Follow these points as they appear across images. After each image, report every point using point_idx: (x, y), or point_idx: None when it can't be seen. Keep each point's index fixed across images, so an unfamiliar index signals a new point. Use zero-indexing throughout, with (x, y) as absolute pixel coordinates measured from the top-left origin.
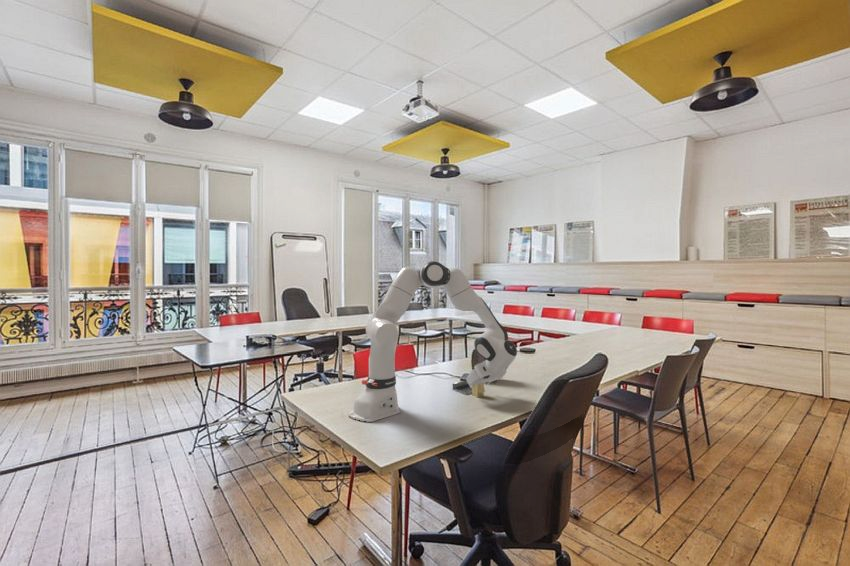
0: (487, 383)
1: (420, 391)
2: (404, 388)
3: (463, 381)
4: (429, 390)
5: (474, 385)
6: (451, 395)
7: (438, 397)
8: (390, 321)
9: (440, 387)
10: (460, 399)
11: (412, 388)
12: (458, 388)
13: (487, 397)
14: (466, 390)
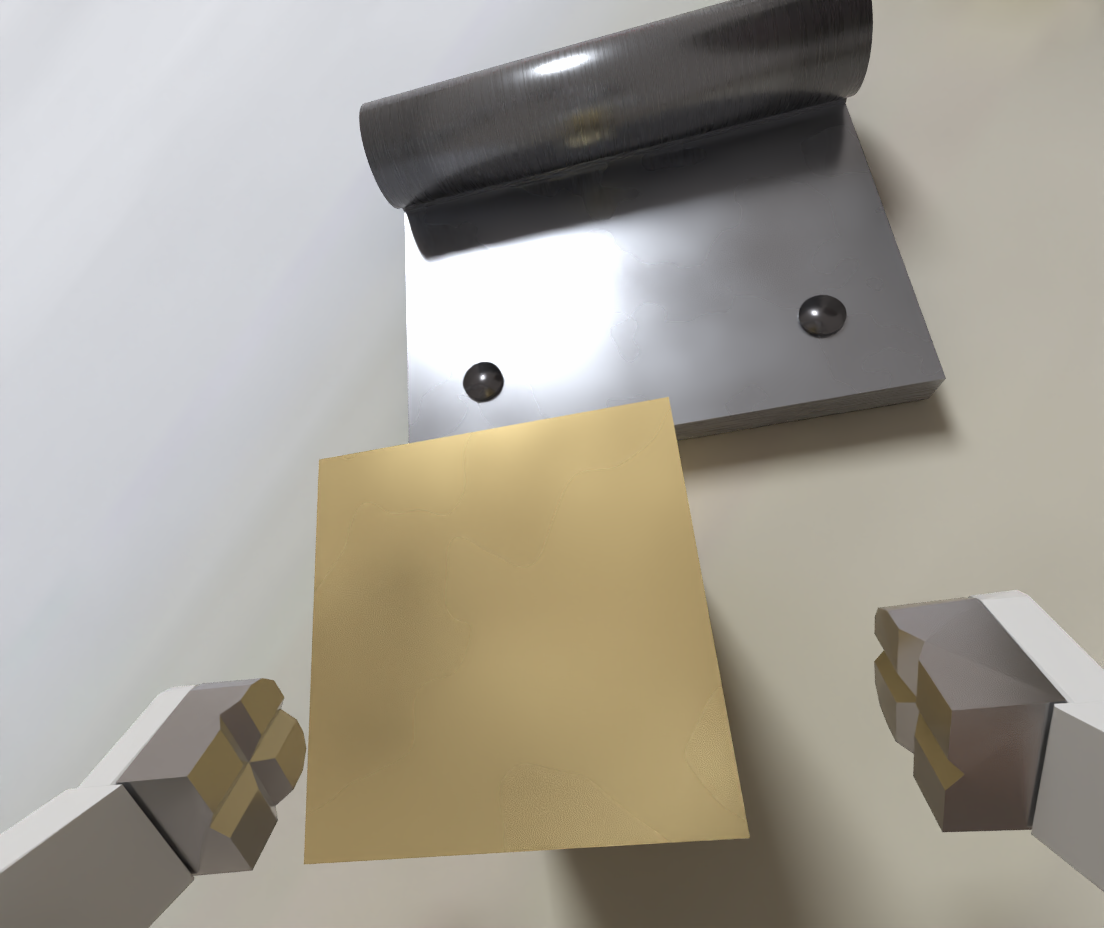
0: (926, 794)
1: (70, 133)
2: (32, 9)
3: (584, 60)
4: (166, 126)
5: (235, 862)
6: (236, 411)
7: (49, 416)
8: None
9: (348, 54)
10: (207, 665)
11: (85, 23)
12: (462, 213)
13: (737, 871)
14: (512, 358)
